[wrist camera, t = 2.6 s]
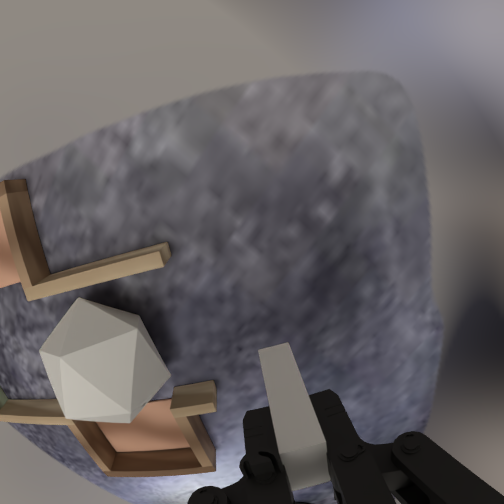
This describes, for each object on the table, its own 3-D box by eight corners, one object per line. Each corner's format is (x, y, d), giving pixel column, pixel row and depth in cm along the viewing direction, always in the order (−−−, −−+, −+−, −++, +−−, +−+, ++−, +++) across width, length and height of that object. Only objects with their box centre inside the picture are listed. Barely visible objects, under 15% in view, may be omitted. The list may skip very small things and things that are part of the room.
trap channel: (239, 445, 26) (241, 467, 23) (42, 453, 25) (34, 468, 23) (140, 132, 19) (128, 125, 17) (-65, 232, 19) (-83, 237, 16)
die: (96, 382, 24) (142, 463, 17) (17, 339, 18) (36, 435, 11) (149, 316, 26) (214, 385, 20) (76, 258, 20) (117, 329, 13)
